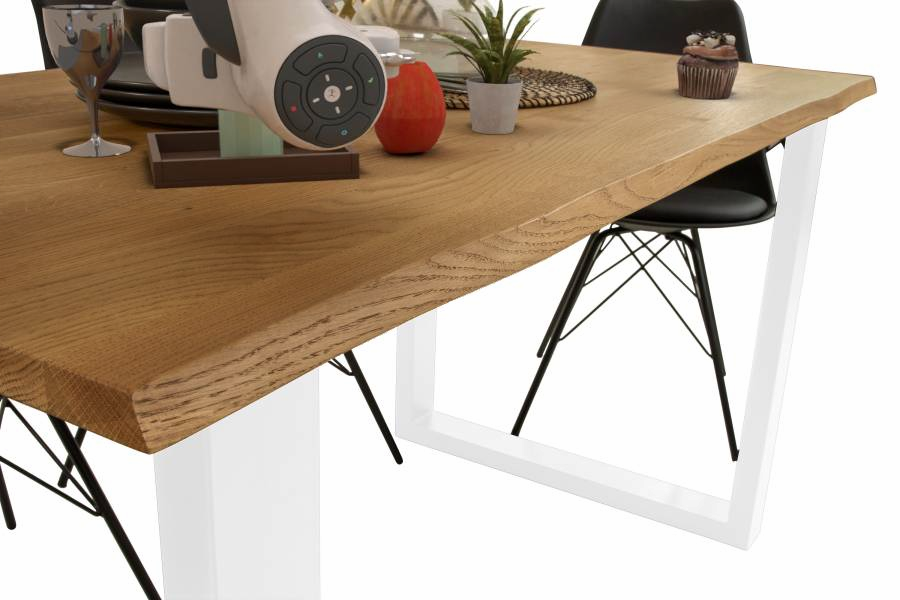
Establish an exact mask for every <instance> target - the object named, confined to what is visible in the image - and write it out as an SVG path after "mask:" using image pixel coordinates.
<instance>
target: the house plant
mask: <svg viewBox="0 0 900 600" xmlns="http://www.w3.org/2000/svg"><path fill="white" fill-rule="evenodd" d="M470 3H471V6H473V8H475V10H476V12H477V13H478V15H479V17H480V19H481V22H482V24H483V26H484V28H485V30H486V33H487V37H488V40H489V42H488V41H487V39H486V38H485V37H484V35H483V33H482V32H481V31H480V29H479V28H478V26H477V25H476V24H475V23H474V22H473V21H472V20H470V19H469V18H468V17H467V16H464V15H463V14H460V13H457V12H455V11H450V10H445V9H444V10H443V11H445V12H449V14H451V15H452V16H454V17H452V19H453V20H458V21H461V22H462V23H463V24H464V26H465V27H466V28H467V29H468V30H469V31H470V33H471V34H472V35H473V37H474V38H475V39H476V41H477V44H476V43H475V42H473V41H471V40H469V39H467V38H464V37H462V36H460V35H459V36H458V35H456V34H452V33H447V32H439V31H432V33H434V34H435V35H437V36H440V37H444V38H446V39H447V40H449V41H450V42H452V43H454V44H456V45H458V46H460V47H461V48H463V49H465V50H467V51H468V52H469V53H470V54H471V55H470V54H469V53H466V52H463V51H462V50H461V49H460V48H459V47H458V46H456V45H453V44H450V43H447V45H449V46H452V47H454V48H455V49H456V50H455V51H450V52H448V53H446V54H444V56H442V58H441V60H443V58H446V57H449V56H454V55H460V56H463V57H464V58H465V59H466V60H467V61H468V62H469V63H470V64H471V65H472V66H473V67H474V69H476V71H477V72H478V73H479V75H481V76H474V77H469V78H466V90H467V98H468V105H469V113H470V114H469V115H470V121H471V129H472V131H473V132H475V133H479V134H485V135H508V134H511V133H513V132H514V130H515V125H516V121H517V115H518V111H519V105H520V101H521V94H522V91H523V87H524V80H523V79H520V78H516V77H510V74H511V72H512V71H513V70H514V68H515V67H516V66H517V65H518V64H520V63H521V62H524V61H527V60H528V57H526V56H528V55H529V56H530V55H533V54H538V55H539V56H541V57H542V54H541V52H537V51H535V50H532V49H521V48H517V47H518V45H519V44H520V43H521V42H522V39H524V37H525V36H526V35H527V33H528V32H529V31H530V30H531V29H532V28H533V26H534V25H535V24H536V23H537V22H539V19H538V20H536V21H534V22H533V23H532V25H530V27H529V28H528V29H527V30H526V32H525V33H524V34H523V32H524V31H525V29H526V27H527V26H529V24H530V23H531V22H532V17H533V16H534V14H535V13H536V12H538V11H540V10H544V9H545V7H537V8H534V9H531V10H529V11H528V12H526V13H525V14H524V15H523V16H522V17H521V18H520V19H519V21H518V22H517V23H516V25H515V26H514V29H513V31H512V34H511V37H510V39H509V40H508V42H507V44H506V47H505V40H506V37H507V34H508V32H509V30H510V27H511V25H512V22H513V20H514V18H515V17H516V15H517V14H518V13H519V12H520V11H521V10H523V9H525V8H529V7H530V5H526V6H522V7H519V8H518V9H517V10H515V11H514V12H513V14H512V15H511V17H510V19H508V20H509V21H508V23H507V25H506V27H505V32H504V34H503V31H504V3H503V0H498V9H497V12H496V16H494V13H493V11H492V9H490V8H489V6H487V5H484V4H483V8H484V12H485V14H484V13H483V11H482V10H481V9H480V8H479V6H478V5H476V4H475V3H474V2H473V1H472V0H470ZM522 34H523V35H522ZM521 35H522V36H521ZM520 36H521V38H520V39H519V37H520ZM517 40H518V42H517ZM443 45H445V43H443ZM504 47H505V49H504ZM469 58H470V59H471V60H473V61H474V62H475V64H476V65H477V66H476V65H475V64H474V62H472V61H471V60H470V59H469ZM529 60H530V61H531V62H533V61H532V59H531V58H529ZM477 67H478V68H477Z"/></svg>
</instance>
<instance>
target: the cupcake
mask: <svg viewBox="0 0 900 600" xmlns="http://www.w3.org/2000/svg"><path fill="white" fill-rule="evenodd" d="M685 39H686V42H687V44H688V45H686V46H684V47H683V48H682V55H681V57H679V59H678V61H677V62H675V65H676V72H677V81H678V82H677V83H678V85H677V86H678V95H679V96H681V97H686V98H692V99H701V100H726V99H730V97H731V93H732V91H733V88H734V84H735V82H736V77H737V74H738V72H739V69H740V68H739V67H740V65H739V54H738V51H737V48H736V46H735V43H736V37H735V36H734V35H731V33H730V32H728V33H726V32H724V33H722V32H717V31H716V30H714V29H710V30H707V31H702V30H700V29H698V30H695V31H692V32H691V35H688V36H687V37H686V38H685Z"/></svg>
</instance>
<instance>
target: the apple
mask: <svg viewBox="0 0 900 600" xmlns="http://www.w3.org/2000/svg"><path fill="white" fill-rule="evenodd" d="M446 118H447V107H446V99H445V95H444V91H443V88H442V86H441V84H440V82H439V79H438V78H437V76H436V75H435V73H434V71H433V70H432V68H431V67H430V66H429V65H428V63H427V62H425V61H418V60H415V63H405V64H402V65H401V66H399V74H398V76H397V77H395V78H390V79H387V96H386V101H385V104H384V107H383V110H382V112H381V114H380V116H379V118H378V120H377V121H376V123H375V124H374V125H373V127H374V133H375V135H376V137H377V139H378V140H379V142H380V144H381V146H382V148H383V149H384V150H385V151H386V152H388V153H390V154H392V155H399V154H400V155H401V154H415V153H416V154H417V153H426V152H428V151H430V150H431V149H432V148H433V147H434V146H435V145H436V144H437V143H438V141H439V139H440V137H441V135H442V132H443V130H444V127H445V125H446Z"/></svg>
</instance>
